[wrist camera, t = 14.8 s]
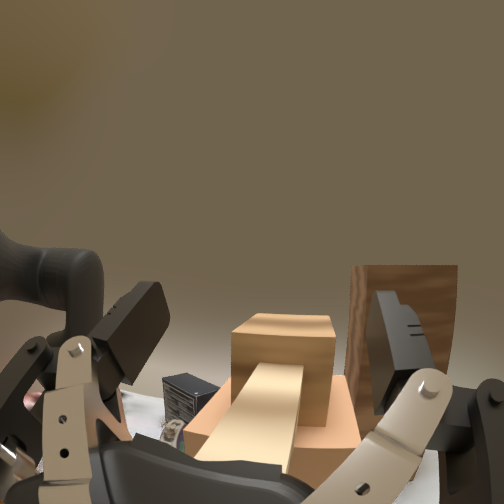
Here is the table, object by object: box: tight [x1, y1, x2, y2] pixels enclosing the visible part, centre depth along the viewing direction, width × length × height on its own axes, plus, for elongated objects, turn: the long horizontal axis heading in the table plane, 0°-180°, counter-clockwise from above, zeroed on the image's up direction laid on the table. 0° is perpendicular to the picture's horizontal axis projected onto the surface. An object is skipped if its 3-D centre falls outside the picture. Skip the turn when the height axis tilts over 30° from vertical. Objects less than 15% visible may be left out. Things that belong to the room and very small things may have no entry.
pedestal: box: [183, 375, 361, 490], centre depth 21 cm, size 14×12×20 cm
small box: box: [162, 373, 220, 427], centre depth 46 cm, size 11×6×10 cm, turn 50°
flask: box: [160, 419, 185, 453], centre depth 30 cm, size 9×3×11 cm, turn 3°
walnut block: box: [344, 265, 458, 481], centre depth 34 cm, size 14×12×32 cm
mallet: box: [194, 313, 336, 475], centre depth 15 cm, size 23×7×7 cm, turn 168°
